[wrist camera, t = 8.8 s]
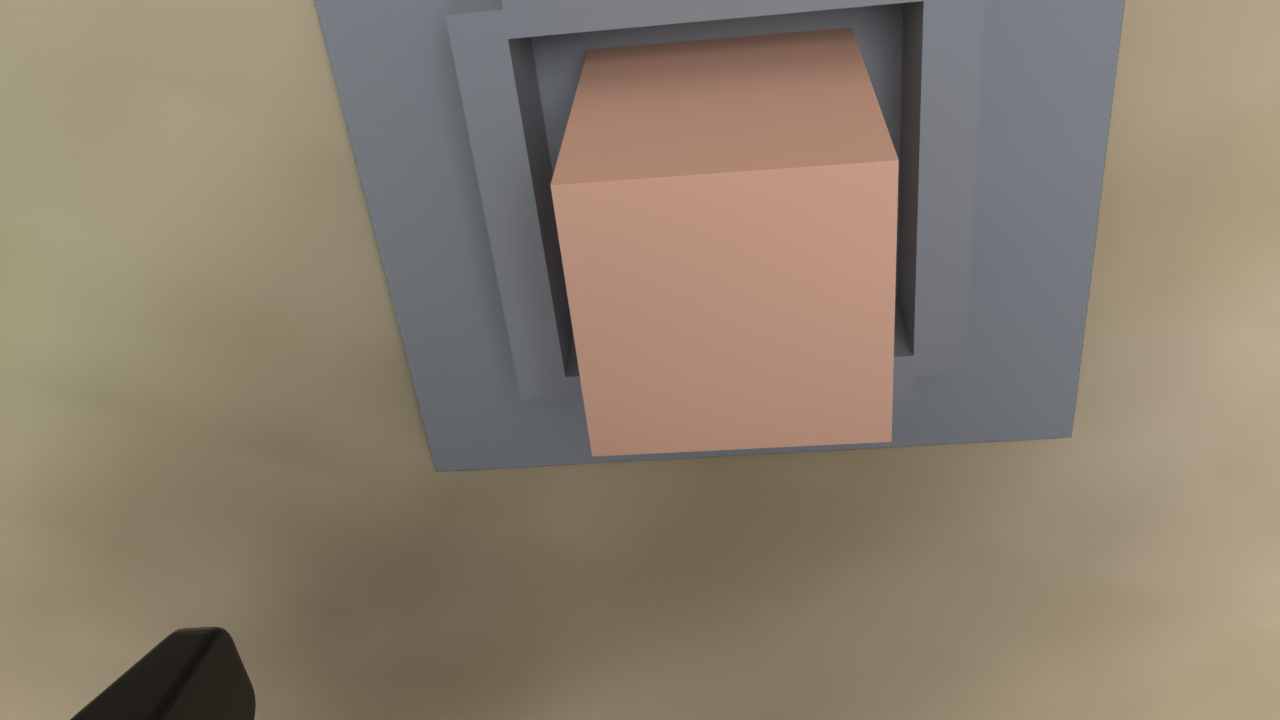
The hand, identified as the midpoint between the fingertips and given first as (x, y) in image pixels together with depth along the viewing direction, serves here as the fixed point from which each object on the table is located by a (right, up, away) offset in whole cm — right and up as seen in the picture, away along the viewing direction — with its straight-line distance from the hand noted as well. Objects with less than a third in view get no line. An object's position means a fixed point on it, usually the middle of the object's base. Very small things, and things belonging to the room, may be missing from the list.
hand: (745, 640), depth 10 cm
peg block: (+1, +6, +9) cm, 10 cm away
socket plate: (+1, +6, +9) cm, 11 cm away
